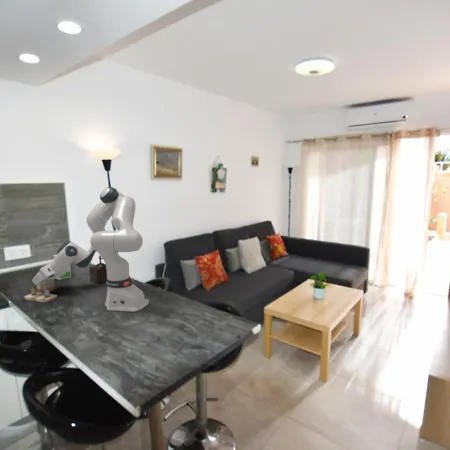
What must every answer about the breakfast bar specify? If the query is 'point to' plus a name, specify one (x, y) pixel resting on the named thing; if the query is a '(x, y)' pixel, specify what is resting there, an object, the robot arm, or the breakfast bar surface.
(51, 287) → the sleeve
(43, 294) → the pin board
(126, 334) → the breakfast bar surface
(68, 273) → the skincare box
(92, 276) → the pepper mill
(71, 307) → the breakfast bar surface
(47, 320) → the breakfast bar surface
